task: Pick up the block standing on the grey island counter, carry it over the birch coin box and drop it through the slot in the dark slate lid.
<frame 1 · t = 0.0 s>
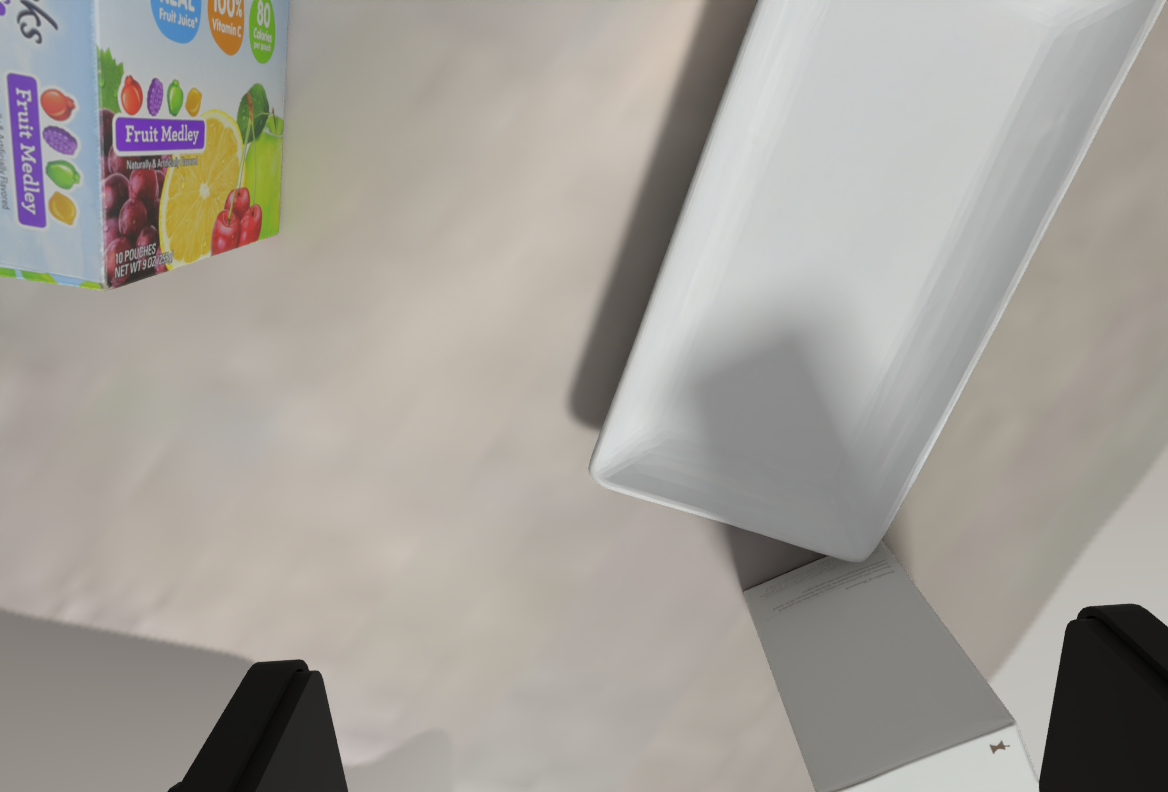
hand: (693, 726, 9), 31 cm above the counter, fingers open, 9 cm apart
tray: (828, 239, 39), on the counter
supplement box: (831, 615, 46), on the counter
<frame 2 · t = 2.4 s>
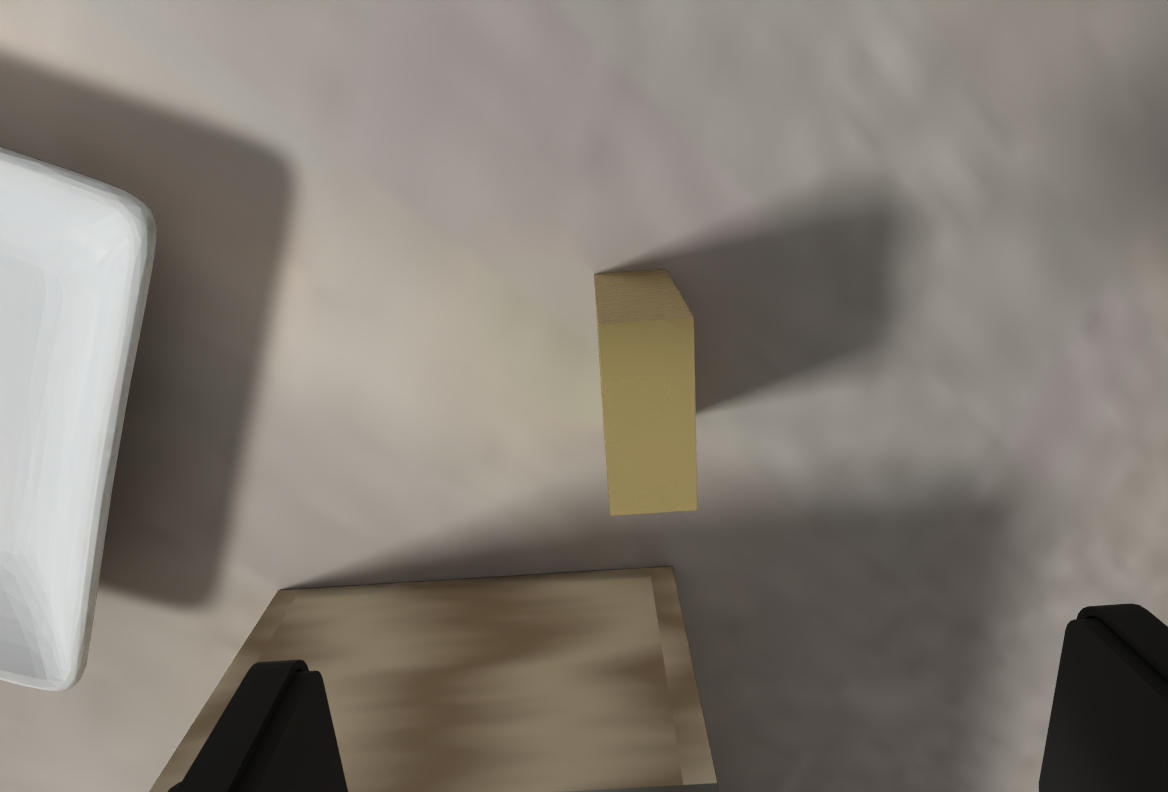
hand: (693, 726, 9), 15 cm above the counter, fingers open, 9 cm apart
block: (633, 350, 24), on the counter
coin box: (498, 753, 29), on the counter
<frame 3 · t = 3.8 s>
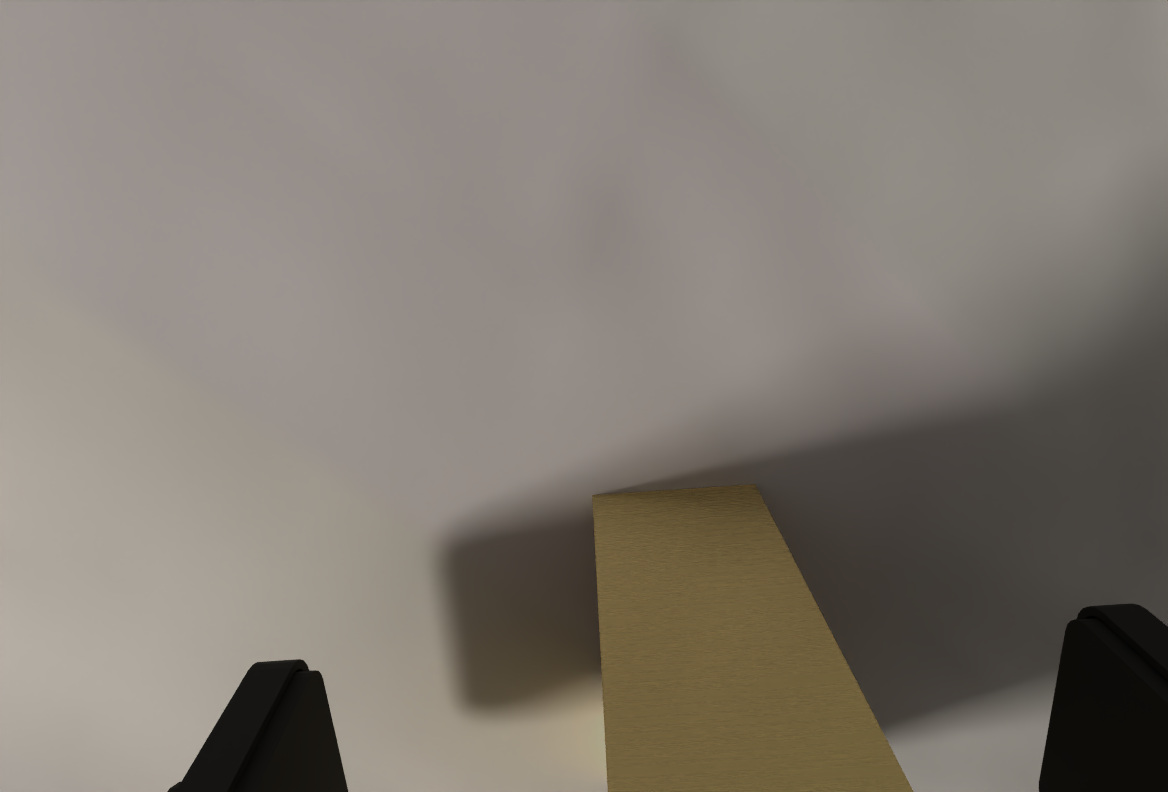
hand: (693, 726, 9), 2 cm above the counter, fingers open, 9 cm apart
block: (678, 643, 11), on the counter
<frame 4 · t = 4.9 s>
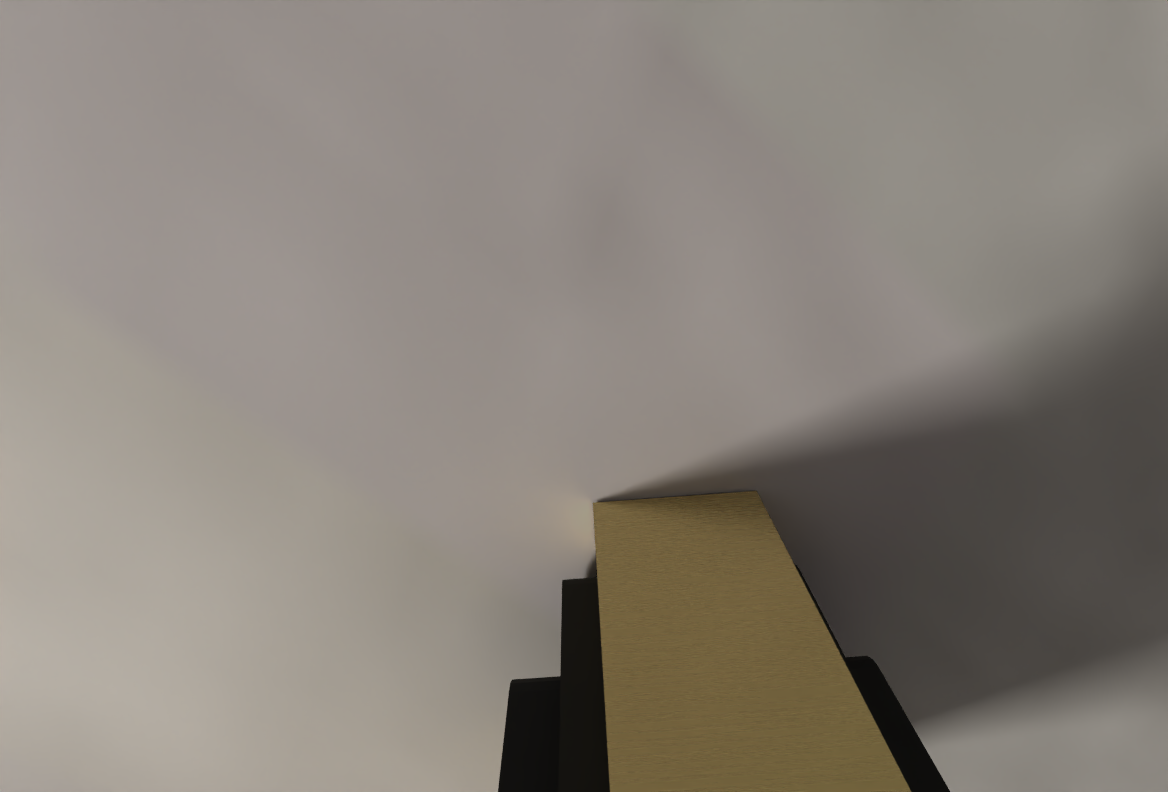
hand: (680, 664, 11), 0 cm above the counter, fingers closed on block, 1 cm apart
block: (680, 650, 11), on the counter, touching gripper
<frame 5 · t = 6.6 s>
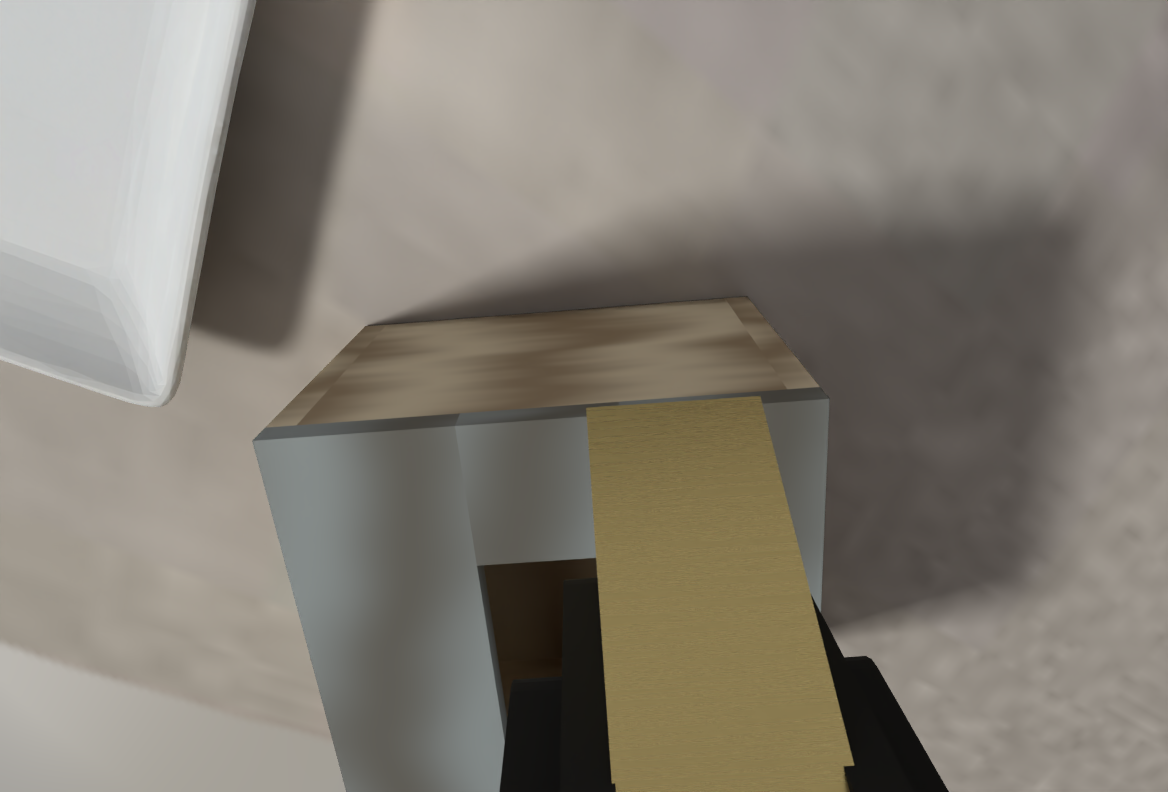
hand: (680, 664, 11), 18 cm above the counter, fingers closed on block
block: (664, 503, 11), point 17 cm above the counter, tilted 30°, touching gripper
coin box: (573, 503, 30), on the counter
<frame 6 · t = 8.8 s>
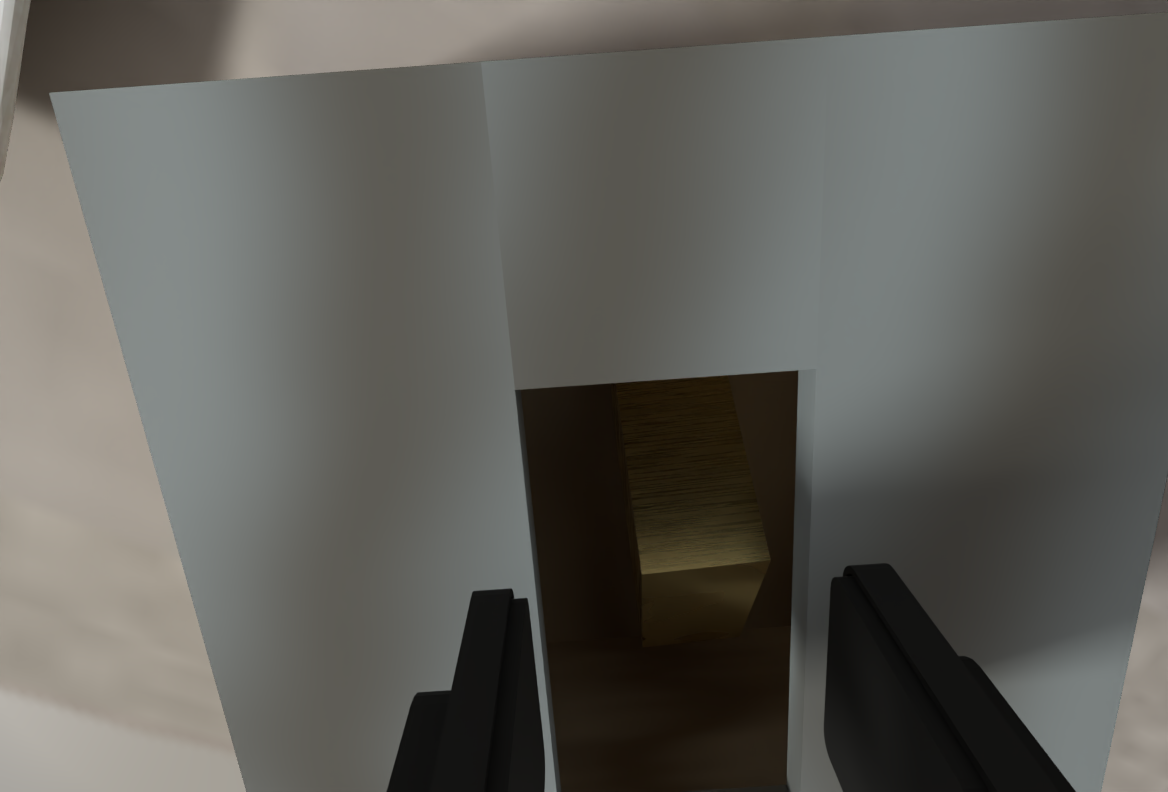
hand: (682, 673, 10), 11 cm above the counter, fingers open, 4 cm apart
block: (655, 362, 18), point 2 cm above the counter, tilted 38°, touching coin box
coin box: (626, 404, 21), on the counter
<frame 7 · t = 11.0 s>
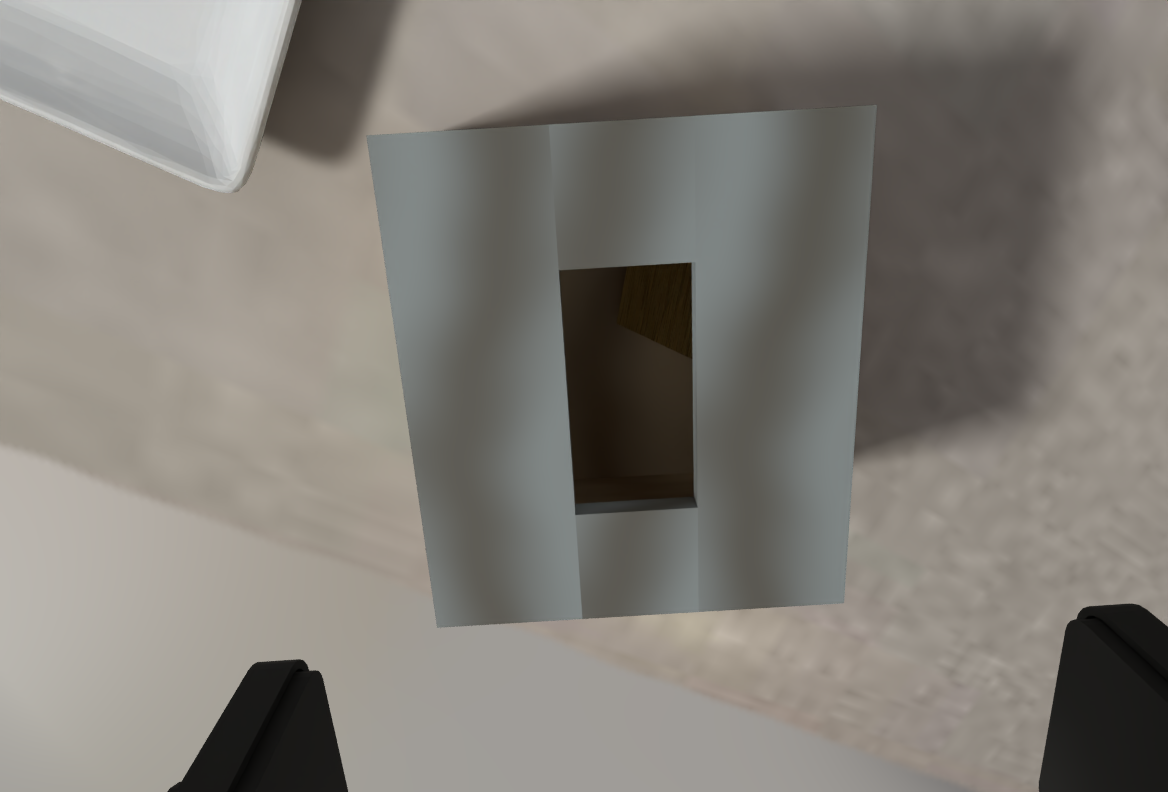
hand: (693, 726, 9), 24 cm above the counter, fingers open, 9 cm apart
block: (648, 264, 31), point 1 cm above the counter, tilted 34°, touching coin box
coin box: (613, 320, 33), on the counter
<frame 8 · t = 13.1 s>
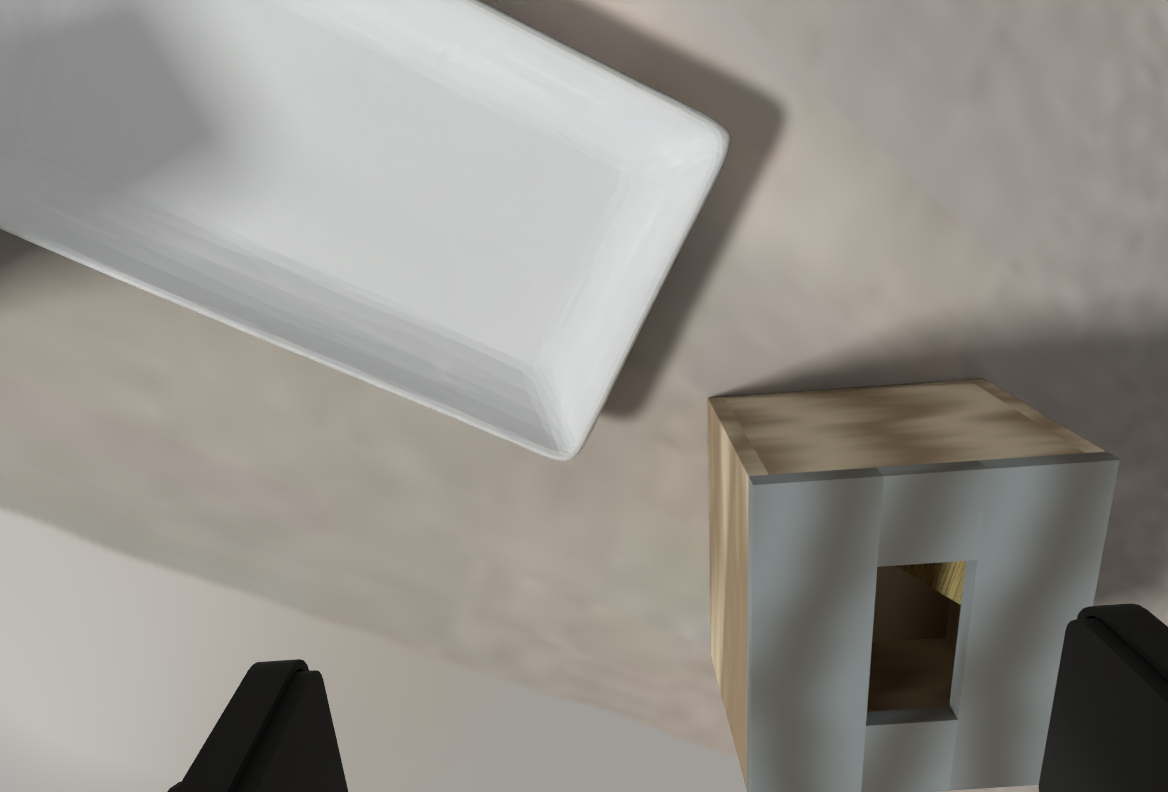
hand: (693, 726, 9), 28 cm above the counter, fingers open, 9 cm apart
block: (877, 493, 39), point 1 cm above the counter, tilted 34°, touching coin box
tray: (339, 155, 35), on the counter
coin box: (838, 527, 41), on the counter
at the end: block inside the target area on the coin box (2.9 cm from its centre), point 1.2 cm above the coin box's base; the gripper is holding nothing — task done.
